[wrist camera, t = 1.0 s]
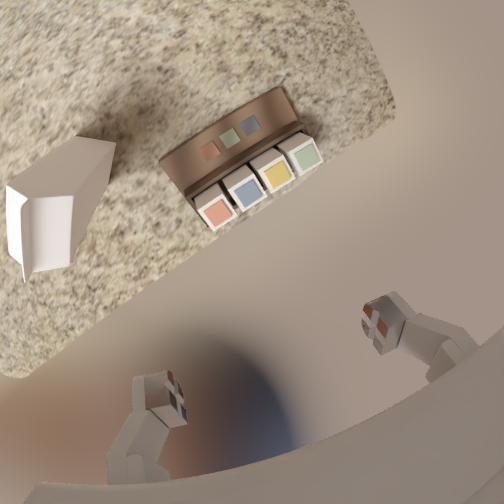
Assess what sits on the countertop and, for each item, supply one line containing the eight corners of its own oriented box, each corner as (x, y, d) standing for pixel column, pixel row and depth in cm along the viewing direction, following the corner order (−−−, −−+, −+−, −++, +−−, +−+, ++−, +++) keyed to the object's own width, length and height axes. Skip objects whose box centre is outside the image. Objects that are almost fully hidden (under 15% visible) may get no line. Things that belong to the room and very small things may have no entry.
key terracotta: (217, 182, 35) (222, 194, 32) (231, 203, 37) (238, 216, 34) (194, 197, 35) (197, 211, 32) (209, 217, 37) (213, 232, 34)
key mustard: (272, 147, 34) (284, 155, 31) (284, 168, 36) (296, 179, 33) (248, 161, 35) (258, 171, 31) (261, 182, 37) (272, 194, 33)
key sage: (299, 131, 34) (313, 138, 31) (309, 153, 36) (324, 162, 33) (276, 145, 34) (288, 152, 31) (288, 166, 36) (301, 176, 33)
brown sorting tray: (276, 86, 34) (288, 87, 30) (310, 153, 40) (324, 161, 37) (159, 160, 35) (157, 168, 32) (205, 220, 42) (209, 234, 38)
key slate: (245, 164, 35) (254, 174, 31) (258, 185, 37) (268, 197, 33) (221, 179, 35) (228, 190, 32) (235, 200, 37) (243, 213, 34)
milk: (116, 142, 32) (62, 213, 14) (108, 185, 35) (62, 292, 17) (74, 135, 30) (-15, 200, 12) (67, 179, 32) (-7, 278, 15)
